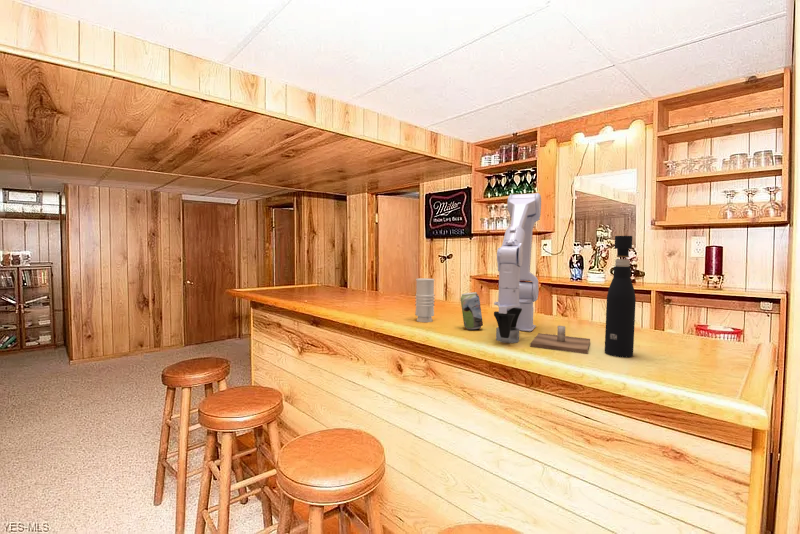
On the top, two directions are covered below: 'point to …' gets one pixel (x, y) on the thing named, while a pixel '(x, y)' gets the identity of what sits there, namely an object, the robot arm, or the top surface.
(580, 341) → the stand
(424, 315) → the grey ribbed cylinder
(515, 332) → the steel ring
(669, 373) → the top surface
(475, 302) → the beverage can
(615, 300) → the black water bottle
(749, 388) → the top surface
